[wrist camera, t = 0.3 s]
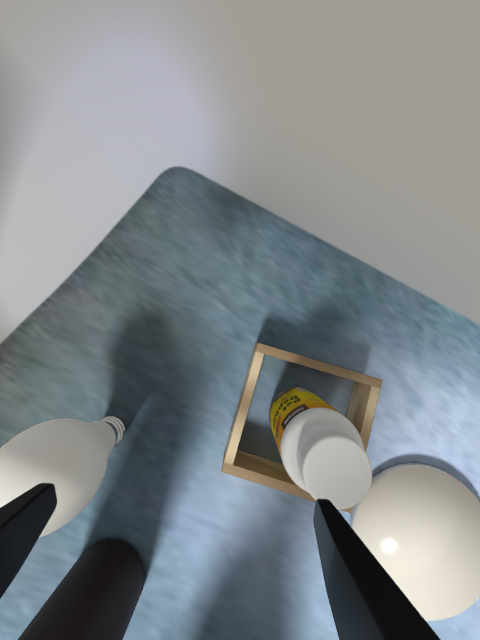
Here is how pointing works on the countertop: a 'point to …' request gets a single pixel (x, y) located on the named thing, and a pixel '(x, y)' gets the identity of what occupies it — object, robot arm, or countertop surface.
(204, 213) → the countertop surface
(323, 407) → the supplement bottle
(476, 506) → the plate
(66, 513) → the light bulb
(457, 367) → the countertop surface
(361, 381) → the bin frame
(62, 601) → the vinegar
